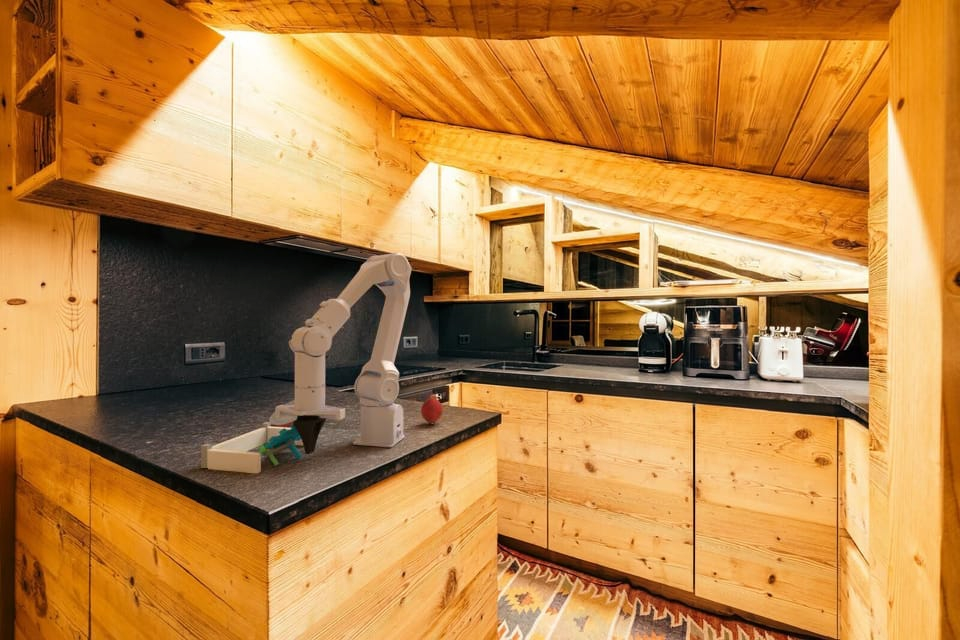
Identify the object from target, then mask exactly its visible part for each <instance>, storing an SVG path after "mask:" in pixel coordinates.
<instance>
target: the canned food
mask: <svg viewBox="0 0 960 640" xmlns="http://www.w3.org/2000/svg"><path fill="white" fill-rule="evenodd" d="M284 405H295V398H294V399H293V400H291V401H289V402H286V403H285V404H284ZM295 420H297V416H275V411H274V412H273V413H272V414H271V415H270V417H269V420H268V422H271V427H286V428H291V427H290V426H291V425H292V424H293V421H295Z"/></svg>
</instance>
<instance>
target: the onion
mask: <svg viewBox="0 0 960 640" xmlns="http://www.w3.org/2000/svg"><path fill="white" fill-rule="evenodd" d="M420 411H421V416H422V418H423V419H424V420H425V421H426V422H427V423H429V424H430V423H434V424H436V422H437V421H439V420H440V418H441V417H442V416H443V413H444V407H443V404H442V403H441V402H440V400H439V399H437V398H436V395H435V394H431V395H430V397H428V399H426V400H424V402H423V403H422V405H421V409H420Z"/></svg>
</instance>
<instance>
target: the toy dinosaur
mask: <svg viewBox="0 0 960 640" xmlns="http://www.w3.org/2000/svg"><path fill="white" fill-rule="evenodd" d="M290 427H291V429H290V430H286V429H285V428H284V429H282V430H281V431H280V432H279V433H280V435H279V436H273V437H271V438H270V439H269V442H270V443H265V444H263V445H260V446H258V447H257V450H258V451H259V453H261V454H262V455H263V456H265V458H266V459H268V458H269V459H270V460H271V462H272V463H273V464H274V467H275V466H277V465H278V466H279V464H280V463H279V462H278V460H277V458H276V456H275V455H279V454H281V452H283V451H285V450H288V449H289V450H290V451H291V453H292V454H293V455H294V457H295V458H296V459H297V460H299V459H300V458H301V457H302V454H301V453H300V451H299V450H298V449H297V447H296V445H294V444H295V442H294V441H299V440H300V439H301V437H300V435H299V433H298V431H297V429H296V428H295V426H294V425H293V424H292V425H291V426H290Z"/></svg>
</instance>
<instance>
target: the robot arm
mask: <svg viewBox="0 0 960 640" xmlns="http://www.w3.org/2000/svg"><path fill="white" fill-rule="evenodd" d="M412 269H413V268H412V265H411V264H410V263H409V261H408V259H407V257H406V256H405V255H404V254H403V253H402V252H397V251H395V252H392V253H388V254H383V255H382V254H381V255H372V256H369V258H367V260H366V261H365V262H364V263H363V264H361V265H360V268H359V270H358V271H357V273H356V274H355V275H354V277H353V278H352V279H351V280H350V281H349V283H348V284H347V285H346V287H344V289H343V290H342V292H341V293H340V294H339V296H338V297H337V298H329V299H328V300H323V301H322V302H321V303H319V306H320V308H319V309H318V310H317V311H316V313H314V314H313V316H312V317H311V318H307V319H306V321H305V322H304V324H305V326H302V327H300V328H297V329H296V330H295V331H294V332H293V333H292V335H291V339H290V340H289V341H288V344H289V347H290V349H291V351H292V352H293V353H294V399H295V405H285V404H279V405H277V406H275V410H274V412H275V416H297V420H295V421H293V425H294V426H295V428H296V429H297V431H298V433H299V435H300V437H301V439H302V442H303V449H304V453H305V455H310V454H312V453H314V452H315V449H316V446H317V441H318V439H319V434H320V433H321V430H322V428H323V426H324V424H325V423H326V421H327V419H333V420H336V421H341V420H344V419H345V418H346V408H345V407H338V406H337V407H336V406H331V405H326V353H327V352H328V351H330V350H331V347H332V345H333V344H332V343H333V341H332V340H333V337H334V336H336V334H337V333H338V332H339V330H340V329H341V328H342V327H343V325H345V323H347V321H348V320H349V319H350V317H351V308H352V307H353V306H354V305H355V303H357V301H359V300H360V299H361V297H363V295H365V293H366V292H367V291H368V290H369V289H371V288H372V286H373V285H375V286H377V287H378V288H379V289H380V290H381V292H382V293H383V294H384V296H385V300H384V305H383V308H382V312H381V316H380V320H379V324H378V328H377V331H376V332H377V333H376V337H375V341H374V344H373V349H372V352H371V356H370V359H369V361H367V362H366V363H365V364H364V365H363V366H362V368H361V372H360V374H359V375H358V376H357V378H356V379H355V382H354V387H353V388H354V393H355V395H356V396H357V397H358V398H359V403H360V437H359V438H358V439H356V440H355V441H352V444H353V445H356V446H357V445H358V446H369V447H378V448H379V447H383V448H392V447H394V446H396V444H398V443H399V442H400V441H401V440H403V439H404V438H405V435H404V408H403V406H402V404H397V403H395V400H396V399H397V398H398V396H399V392H400V384H399V378H400V372H399V370H398V368H397V367H396V366H395V360H396V355H397V354H398V353H397V352H398V347H399V344H400V340H401V335H402V330H403V327H404V323H405V318H406V313H407V310H408V305H409V301H410V297H411V288H410V287H411V285H410V277H411V274H412Z"/></svg>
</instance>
